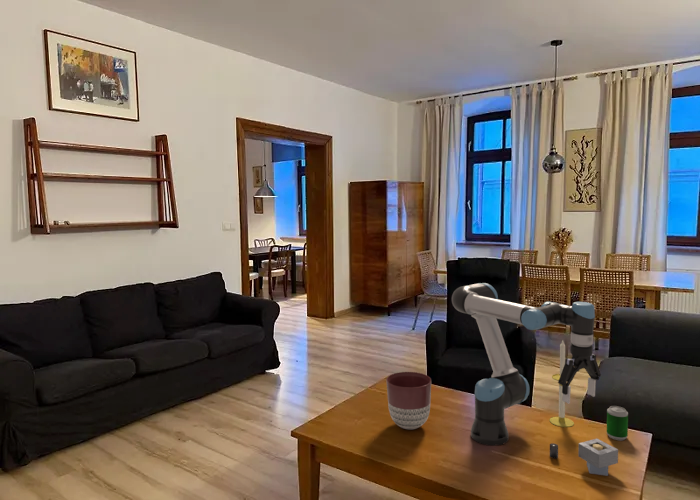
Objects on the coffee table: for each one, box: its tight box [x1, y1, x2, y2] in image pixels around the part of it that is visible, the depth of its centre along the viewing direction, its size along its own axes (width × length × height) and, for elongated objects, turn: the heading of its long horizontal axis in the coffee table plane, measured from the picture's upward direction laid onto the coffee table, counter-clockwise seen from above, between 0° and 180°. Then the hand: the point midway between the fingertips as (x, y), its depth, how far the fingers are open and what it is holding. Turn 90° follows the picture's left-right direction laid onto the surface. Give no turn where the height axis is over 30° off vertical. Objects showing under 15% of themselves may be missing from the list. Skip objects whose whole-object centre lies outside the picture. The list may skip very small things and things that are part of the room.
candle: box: [549, 339, 575, 428], centre depth 211 cm, size 10×10×38 cm
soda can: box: [606, 405, 629, 441], centre depth 198 cm, size 8×8×12 cm
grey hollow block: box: [577, 438, 619, 468], centre depth 174 cm, size 9×9×5 cm
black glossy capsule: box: [549, 442, 559, 460], centre depth 184 cm, size 3×3×4 cm
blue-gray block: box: [586, 444, 609, 477], centre depth 174 cm, size 6×6×9 cm
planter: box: [386, 371, 432, 430], centre depth 212 cm, size 20×20×21 cm
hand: (578, 398), depth 181 cm, fingers open, 13 cm apart
